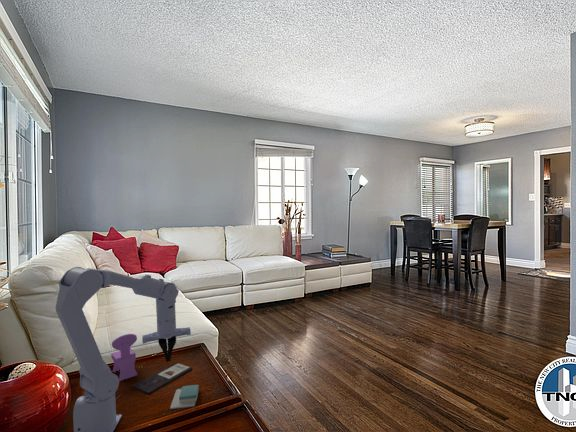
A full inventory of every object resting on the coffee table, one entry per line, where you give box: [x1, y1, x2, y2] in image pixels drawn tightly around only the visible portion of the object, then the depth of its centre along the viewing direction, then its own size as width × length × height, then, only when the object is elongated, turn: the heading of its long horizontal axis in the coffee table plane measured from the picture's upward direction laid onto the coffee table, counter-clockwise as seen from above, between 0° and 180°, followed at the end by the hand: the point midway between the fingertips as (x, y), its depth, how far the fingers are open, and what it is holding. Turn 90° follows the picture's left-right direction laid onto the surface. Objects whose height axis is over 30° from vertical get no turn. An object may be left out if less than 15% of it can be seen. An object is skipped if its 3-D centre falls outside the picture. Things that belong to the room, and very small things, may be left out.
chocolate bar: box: [131, 362, 193, 396], centre depth 113 cm, size 9×1×18 cm
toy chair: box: [110, 333, 139, 382], centre depth 116 cm, size 8×9×15 cm
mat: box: [169, 388, 197, 410], centre depth 100 cm, size 7×10×1 cm
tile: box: [179, 384, 200, 403], centre depth 100 cm, size 2×6×5 cm
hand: (168, 360), depth 104 cm, fingers closed
